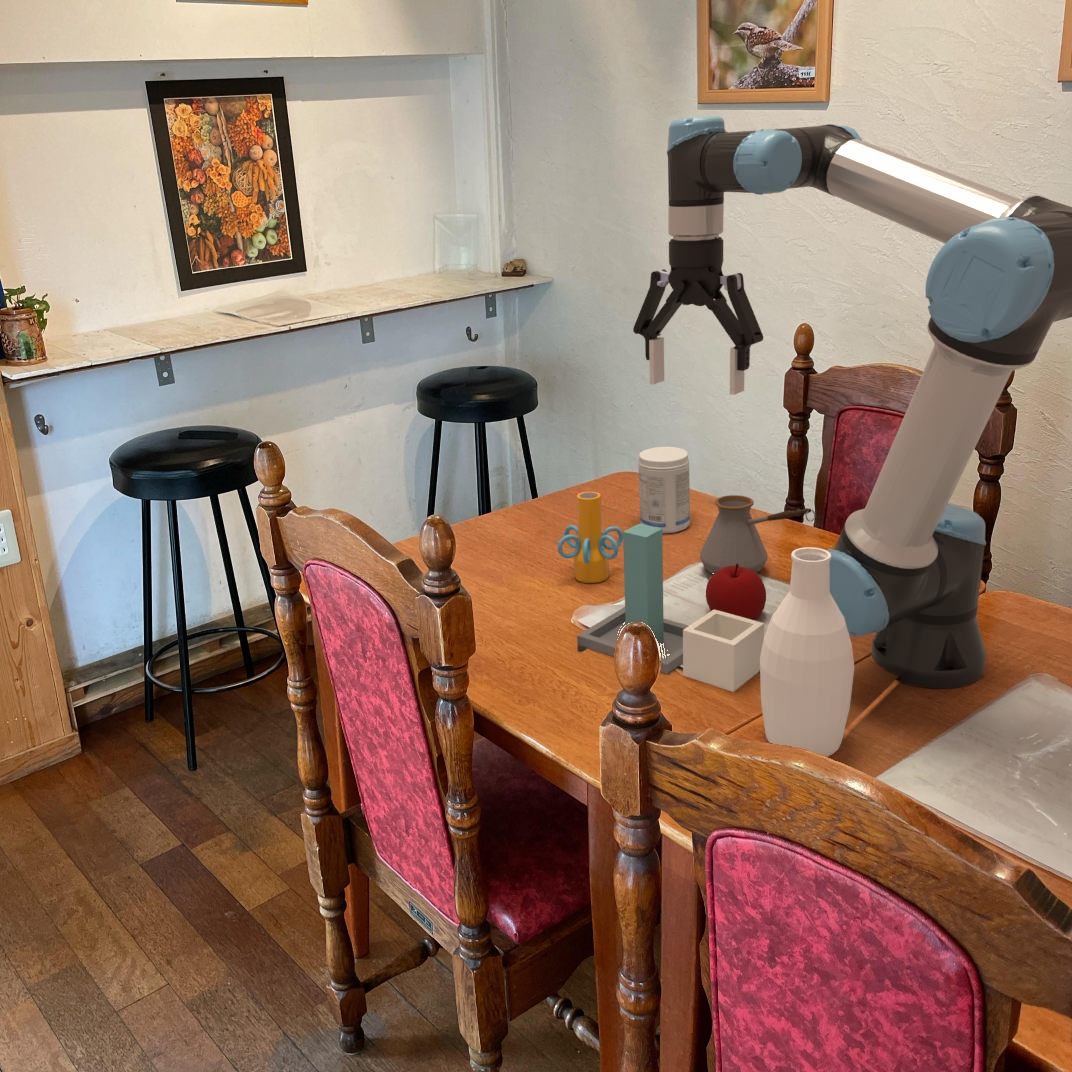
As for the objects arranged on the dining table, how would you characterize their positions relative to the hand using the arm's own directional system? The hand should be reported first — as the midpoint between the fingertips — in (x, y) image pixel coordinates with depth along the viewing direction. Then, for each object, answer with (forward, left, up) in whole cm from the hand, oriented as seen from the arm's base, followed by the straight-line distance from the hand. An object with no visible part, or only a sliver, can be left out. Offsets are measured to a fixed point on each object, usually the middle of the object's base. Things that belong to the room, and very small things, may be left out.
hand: (695, 387), depth 155 cm
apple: (-6, -2, -37) cm, 37 cm away
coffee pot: (-1, -18, -37) cm, 41 cm away
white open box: (-14, +15, -37) cm, 42 cm away
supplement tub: (+26, -30, -37) cm, 55 cm away
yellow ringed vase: (+23, -3, -37) cm, 44 cm away
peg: (0, +14, -36) cm, 38 cm away
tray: (0, +14, -37) cm, 39 cm away
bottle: (-31, +23, -37) cm, 53 cm away
